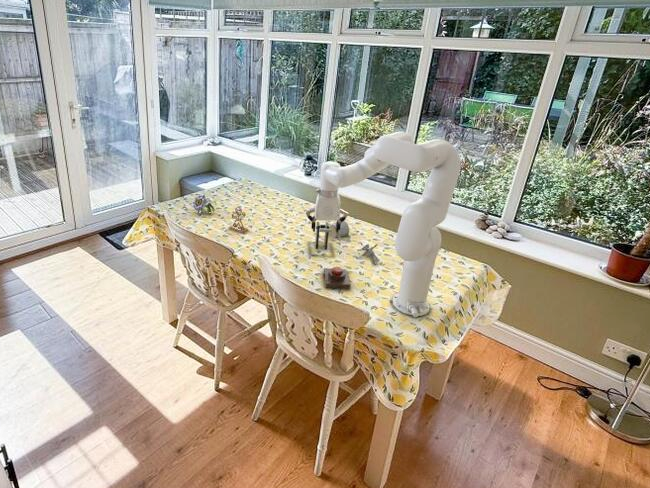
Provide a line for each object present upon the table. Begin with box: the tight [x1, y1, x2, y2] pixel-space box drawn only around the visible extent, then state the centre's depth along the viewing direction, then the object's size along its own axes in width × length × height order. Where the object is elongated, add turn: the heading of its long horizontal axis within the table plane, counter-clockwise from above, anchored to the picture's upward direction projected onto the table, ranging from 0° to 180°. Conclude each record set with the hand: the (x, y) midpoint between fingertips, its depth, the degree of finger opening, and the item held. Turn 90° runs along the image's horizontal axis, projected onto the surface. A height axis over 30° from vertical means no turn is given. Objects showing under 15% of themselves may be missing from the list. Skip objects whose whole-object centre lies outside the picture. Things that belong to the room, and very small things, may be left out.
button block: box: [323, 267, 351, 290], centre depth 161 cm, size 11×9×4 cm
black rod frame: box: [314, 221, 330, 250], centre depth 183 cm, size 12×10×13 cm
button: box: [332, 266, 343, 275], centre depth 160 cm, size 4×4×2 cm
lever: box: [319, 224, 332, 233], centre depth 176 cm, size 12×5×2 cm, turn 175°
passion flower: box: [190, 193, 218, 215], centre depth 221 cm, size 11×11×12 cm
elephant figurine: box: [360, 243, 381, 265], centre depth 176 cm, size 10×6×9 cm
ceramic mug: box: [328, 220, 351, 241], centre depth 194 cm, size 11×8×8 cm
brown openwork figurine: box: [228, 206, 249, 234], centre depth 200 cm, size 9×4×12 cm, turn 55°
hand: (325, 230), depth 171 cm, fingers open, 9 cm apart
